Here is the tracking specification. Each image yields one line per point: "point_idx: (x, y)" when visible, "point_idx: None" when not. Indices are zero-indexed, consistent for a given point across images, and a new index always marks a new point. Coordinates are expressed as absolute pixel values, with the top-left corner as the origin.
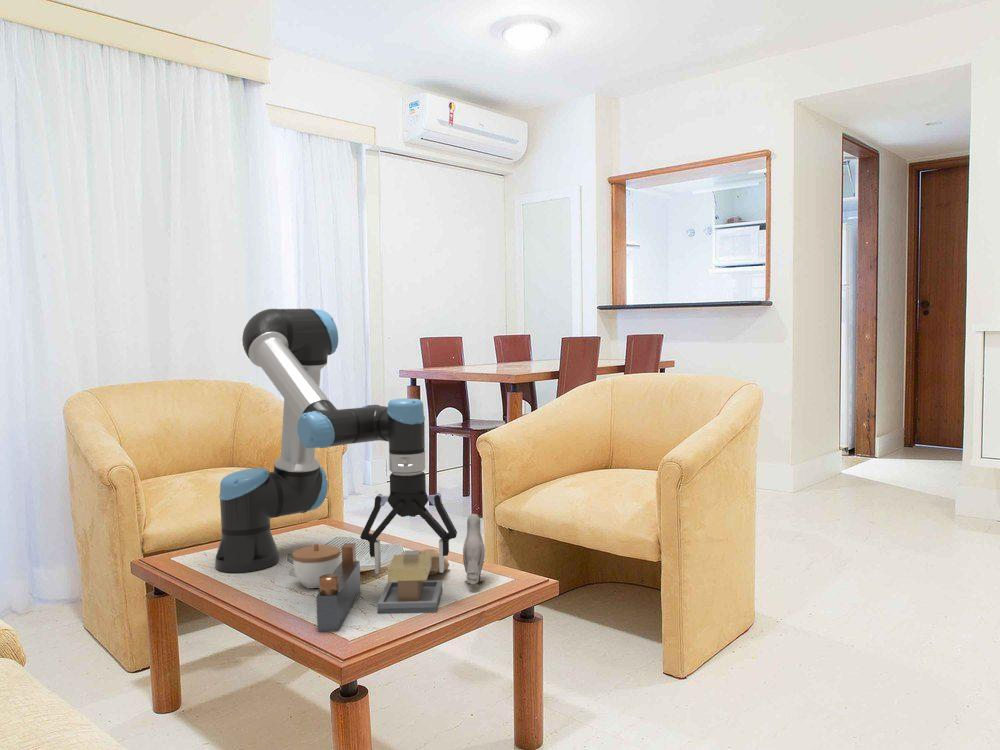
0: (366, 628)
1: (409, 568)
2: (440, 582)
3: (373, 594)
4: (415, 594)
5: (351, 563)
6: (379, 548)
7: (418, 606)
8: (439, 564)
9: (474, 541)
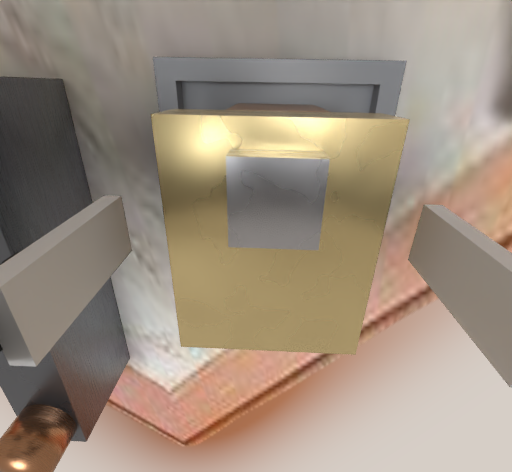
0: (185, 349)
1: (278, 348)
2: (394, 97)
3: (122, 108)
4: None
5: None
6: (56, 280)
7: None
8: (426, 280)
9: None
